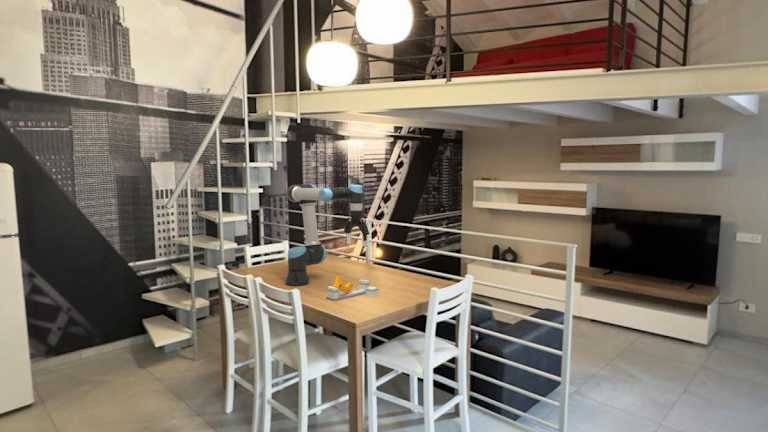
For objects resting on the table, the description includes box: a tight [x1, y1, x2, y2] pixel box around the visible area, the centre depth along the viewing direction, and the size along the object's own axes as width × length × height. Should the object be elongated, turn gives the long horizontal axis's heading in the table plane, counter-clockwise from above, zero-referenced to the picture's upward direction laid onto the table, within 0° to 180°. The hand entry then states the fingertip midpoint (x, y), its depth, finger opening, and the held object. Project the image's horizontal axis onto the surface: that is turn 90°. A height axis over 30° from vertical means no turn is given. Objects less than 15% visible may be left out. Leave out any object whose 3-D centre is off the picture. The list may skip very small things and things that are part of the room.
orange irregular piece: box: [332, 275, 354, 294], centre depth 289 cm, size 12×4×6 cm, turn 136°
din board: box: [326, 288, 366, 302], centre depth 293 cm, size 8×28×1 cm, turn 136°
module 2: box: [358, 279, 371, 291], centre depth 302 cm, size 6×3×6 cm, turn 46°
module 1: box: [326, 285, 339, 299], centre depth 284 cm, size 6×3×6 cm, turn 45°
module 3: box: [365, 286, 379, 299], centre depth 292 cm, size 5×5×5 cm
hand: (356, 245), depth 301 cm, fingers open, 13 cm apart
